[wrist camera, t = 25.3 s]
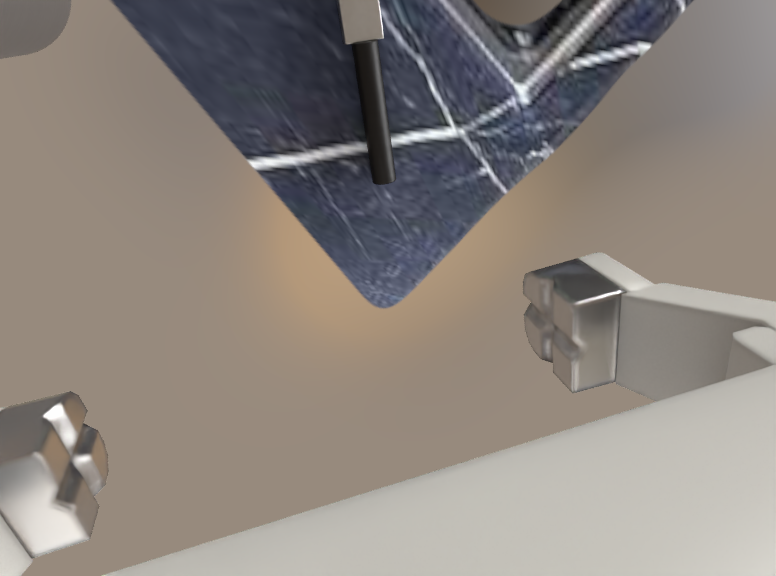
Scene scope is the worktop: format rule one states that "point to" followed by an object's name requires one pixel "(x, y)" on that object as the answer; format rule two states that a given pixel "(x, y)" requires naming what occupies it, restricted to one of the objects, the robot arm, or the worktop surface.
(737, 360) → the robot arm
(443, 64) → the worktop surface
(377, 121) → the cake knife
